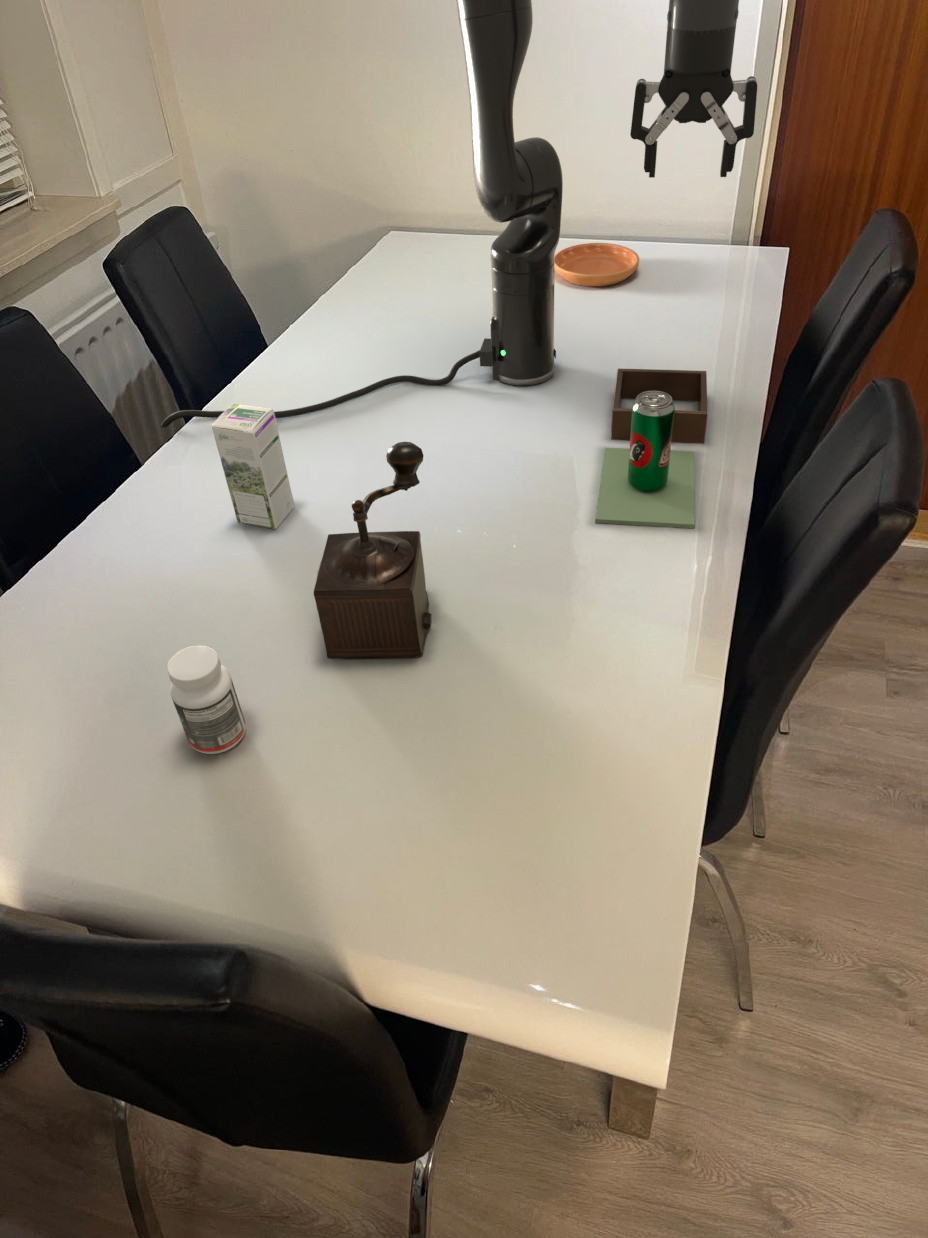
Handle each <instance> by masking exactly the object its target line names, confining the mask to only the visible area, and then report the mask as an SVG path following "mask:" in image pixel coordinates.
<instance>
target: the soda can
mask: <svg viewBox="0 0 928 1238" xmlns="http://www.w3.org/2000/svg"><path fill="white" fill-rule="evenodd" d="M631 409H632V419H631V434H630V440H629V449H630V450H629V465H628V482H629V484H630V485H631V486H632V487H633V488H634V489H636V490H638V491H642V492H654V491H658V490H660V489H661V488H663V487H664V486H665V485H666V484H667V481H668V472H669V462H670V452H671V450H672V443H673V442H672V432H673V422H674V412H675V410H676V407H675V404H674V403H673V401H672V397H671V396H670V395H669V394H667V393H665V392H661V391H646V392H643V393H640V394H639V395H638V396H637V397H636V399H635V401H634V402H633V404H632V406H631Z"/></svg>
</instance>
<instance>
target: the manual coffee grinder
mask: <svg viewBox="0 0 928 1238" xmlns="http://www.w3.org/2000/svg"><path fill="white" fill-rule="evenodd" d="M385 456H386V457H385V458H386V463H387V464H388V465H389V466H390V468H392V470H393V471H394V473H395V475H394V479H393V481H392V485H389V486H388V485H387V486H385V487H382V488H379V489H376V490H374V491H371V492H370V493H368V494H367V495H366V496H365V497H364V498H363V500H361V499H356V500H354V501H353V502H352V503H351V509H352V512H353V513H352V517H353V522H354V523H356V524H357V531H358V532H345V533H344V532H343V533H330V534H327V537H326V542H325V547H324V550H323V553H322V557H321V560H320V562H319V563H320V564H319V568H318V570H317V575H316V580H315V584H314V589H313V596H314V600H315V605H316V606H315V607H316V610H317V614H318V619H319V624H320V628H321V632H322V638H323V641H324V647H325V653H326V657H327V659H332V660H333V659H335V660H389V659H390V660H391V659H392V660H393V659H395V660H397V659H415V658H420V657H422V656H423V653H424V651H425V650H424V649H425V645H426V639H427V635H428V631H429V629H430V628H431V625H432V613H430V612H429V606H430V601H429V594H428V591H427V588H426V574H425V566H424V558H423V557H424V556H423V550H422V541H421V532H420V531H419V530H398V531H397V530H396V531H368V526H367V520H368V519H369V518H368V513H369V510H370V508H371V506H372V505H373V503H374V502H375V501H377V500H378V499H381V498H383V497H386V496H390V495H392V494H394V493H396V492H398V491H405V492H407V491H408V490H409V489H412V488H414V487H416V486H417V485H419V484H420V479H419V477H418V474H417V471H418V470H419V467H420V466H421V464H422V463H423V462H424V452H423V450H422V448H421V447H419V446H418V445H416V443H413V442H412V441H400V442H397V443H395V444H394V445H392V446H390V447H388V450H387V452H386V455H385Z"/></svg>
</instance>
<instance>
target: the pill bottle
mask: <svg viewBox="0 0 928 1238" xmlns="http://www.w3.org/2000/svg"><path fill="white" fill-rule="evenodd" d="M166 667H167V668H166V669H167V674H168V678H169V681H170V682H171V683H170V687H169V688H170V689H169V691H170V692H169V693H170V696H171V699H172V703H173V705H174V708H175V710H176V713H177V716H178V718H179V721H180V723H181V726H182V729H183V731H184V734H185V736H186V737H185V738H186V740H187V742H188V743H189V745H190V746H191V747H192V748H193V749H194V750H195V751H197V752H198V753H201V754H208V755H216V754H221V753H224V752H227V751H229V750H231V749H232V748H234V747H235V746H237V745H238V744H239V743H240V741H241V740H242V739H243V737H244V735H245V733H246V727H247V726H246V719H245V715H244V714H243V711H242V707H241V704H240V700H239V697H238V695H237V691H236V689H235V685H234V682H233V678H232V676H231V674H230V671H229V670H228V669H227V668H226V667H225V666H224V665H222V663H221V661H220V657H219V654H218V653H217V651H216V650H215V649H213V648H211V646H210V647H209V646H206V645H192V646H188V647H185V648H183V649H180V650H179V651H178V652H176V653H175V654H173V656H172V657H170V659H169V660H168V663H167V666H166Z"/></svg>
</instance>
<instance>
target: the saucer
mask: <svg viewBox="0 0 928 1238" xmlns="http://www.w3.org/2000/svg"><path fill="white" fill-rule="evenodd" d="M639 264H640V256H639V254H638V253H637V252H636V251H635V250H633V249H631V248H629V247H628V246H623V245H620V244H617V243H610V242H588V243H579V244H575V245H570V246H568V247H565V248H563V249H561V250H560V251H558V252H557V253H555V255H554V271H556V273H557V274H558V275H559V276H561V277H562V278H563V279H564V280H565V281H567V282H569V283H571V284H574V285H576V286H577V285H578V286H582V287H583V286H584V287H606V286H611V285H615V284H619V283H621V282H623V281H625V280H626V279H627V278H629V277H630V276H631V275H632V274H634V272H635V271H636V270H637V269H638V267H639Z"/></svg>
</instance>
